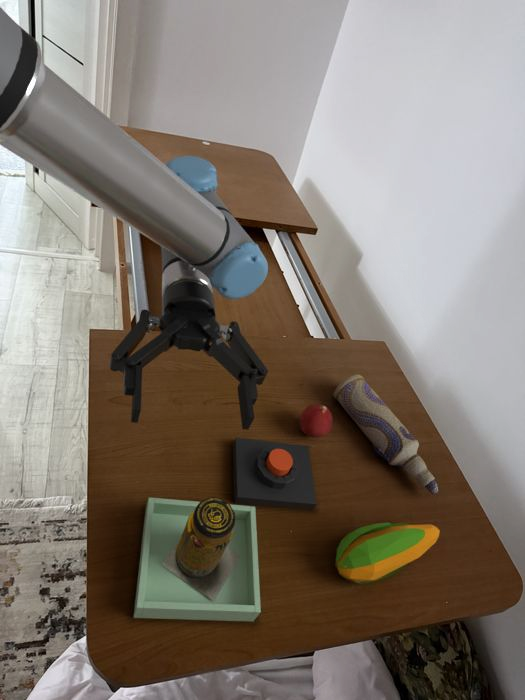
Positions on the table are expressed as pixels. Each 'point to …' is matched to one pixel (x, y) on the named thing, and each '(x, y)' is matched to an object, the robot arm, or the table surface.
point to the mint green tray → (177, 595)
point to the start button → (279, 462)
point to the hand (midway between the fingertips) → (194, 420)
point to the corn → (382, 550)
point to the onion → (316, 420)
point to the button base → (272, 476)
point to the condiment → (205, 548)
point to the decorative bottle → (383, 429)
